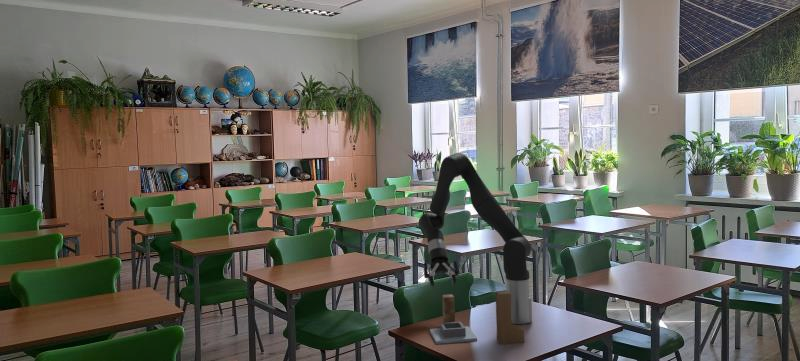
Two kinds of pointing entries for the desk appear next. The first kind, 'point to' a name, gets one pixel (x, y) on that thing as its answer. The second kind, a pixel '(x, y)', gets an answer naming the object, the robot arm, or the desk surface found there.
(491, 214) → the robot arm
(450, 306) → the walnut peg
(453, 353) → the desk surface
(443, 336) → the socket board
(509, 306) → the wooden block
